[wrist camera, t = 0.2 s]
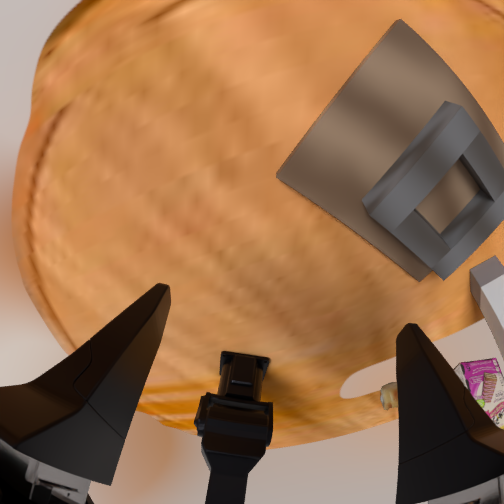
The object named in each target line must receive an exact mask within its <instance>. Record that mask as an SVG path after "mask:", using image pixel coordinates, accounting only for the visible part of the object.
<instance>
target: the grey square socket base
mask: <svg viewBox="0 0 504 504" xmlns="http://www.w3.org/2000/svg"><path fill="white" fill-rule="evenodd" d="M276 178H278V179H279V180H281V181H283V182H284V183H286V184H287V185H289V186H290V187H292V188H293V189H295V190H296V191H298V192H299V193H301V194H302V195H304V196H305V197H307V198H308V199H310V200H311V201H313V202H314V203H316V204H317V205H319V206H320V207H321V208H323V209H324V210H326V211H327V212H329V213H330V214H331V215H333V216H334V217H336V218H337V219H338V220H340V221H341V222H343V223H344V224H345V225H347V226H348V227H350V228H351V229H352V230H354V231H355V232H356V233H358V234H359V235H360V236H362V237H363V238H364V239H366V240H367V241H368V242H370V243H371V244H372V245H374V246H375V247H376V248H378V249H379V250H380V251H381V252H383V253H384V254H385V255H387V256H388V257H389V258H390V259H392V260H393V261H394V262H396V263H397V264H398V265H399V266H401V267H402V268H403V269H404V270H405V271H407V272H408V273H409V274H410V275H412V276H413V277H414V278H415V279H416V280H418V281H419V282H420V281H421V280H422V279H424V278H425V277H426V276H427V275H428V274H429V273H430V272H431V271H432V270H433V271H434V272H435V273H436V274H437V275H438V276H439V277H440V278H442V279H443V280H445V279H446V278H447V277H448V276H450V275H451V274H452V273H453V272H454V271H455V270H456V269H457V268H458V267H459V266H460V265H461V264H462V263H463V262H464V261H465V260H466V259H467V258H468V257H469V256H470V255H471V254H472V253H473V252H474V251H475V250H476V249H477V248H478V247H479V246H480V245H481V244H482V243H483V242H484V241H485V240H486V239H487V238H488V237H489V235H490V234H491V233H492V232H493V231H494V230H495V229H496V228H497V227H498V225H499V224H500V223H501V222H502V221H503V220H504V143H503V141H502V139H501V138H500V136H499V134H498V133H497V131H496V129H495V128H494V126H493V125H492V123H491V122H490V120H489V118H488V117H487V115H486V114H485V113H484V111H483V110H482V108H481V107H480V105H479V104H478V102H477V101H476V100H475V98H474V97H473V96H472V94H471V93H470V92H469V90H468V89H467V88H466V87H465V85H464V84H463V83H462V81H461V80H460V79H459V78H458V77H457V75H456V74H455V73H454V72H453V71H452V70H451V68H450V67H449V66H448V65H447V64H446V63H445V62H444V60H443V59H442V58H441V57H440V56H439V55H438V54H437V53H436V52H435V51H434V50H433V49H432V48H431V47H430V46H429V45H428V44H427V43H426V42H425V41H424V40H423V39H422V38H421V37H420V36H419V35H418V34H417V33H416V32H415V31H414V30H413V29H412V28H411V27H409V26H408V25H407V24H406V23H405V22H404V21H403V20H401V19H399V20H396V21H395V22H394V23H393V24H392V26H391V27H390V28H389V29H388V30H387V32H386V33H385V34H384V35H383V36H382V38H381V39H380V40H379V41H378V43H377V44H376V45H375V46H374V47H373V49H372V50H371V51H370V52H369V54H368V55H367V56H366V57H365V59H364V60H363V61H362V62H361V63H360V65H359V66H358V67H357V68H356V70H355V71H354V72H353V73H352V75H351V76H350V77H349V79H348V80H347V81H346V82H345V84H344V85H343V86H342V87H341V89H340V90H339V91H338V92H337V94H336V95H335V96H334V98H333V99H332V100H331V101H330V103H329V104H328V105H327V107H326V108H325V109H324V110H323V112H322V113H321V114H320V116H319V117H318V118H317V120H316V121H315V122H314V123H313V125H312V126H311V127H310V129H309V130H308V131H307V133H306V134H305V135H304V137H303V138H302V139H301V141H300V142H299V143H298V145H297V146H296V147H295V149H294V150H293V151H292V153H291V154H290V155H289V157H288V158H287V159H286V161H285V162H284V163H283V165H282V166H281V167H280V169H279V170H278V171H277V173H276Z"/></svg>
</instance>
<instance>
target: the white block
mask: <svg viewBox="0 0 504 504" xmlns="http://www.w3.org/2000/svg"><path fill="white" fill-rule="evenodd" d="M470 285H471V293H472V295H473V297H474V298H475V300H476V302H477V304H478V306H479V308H480V310H481V312H482V314H483V316H484V318H485V320H486V322H487V324H488V326H489V328H490V330H491V332H492V334H493V336H494V339H495V340H496V343H497V345H498V348H499V350H500V352H501V355H502V357H503V360H504V266H503V265H502V264H501V262H500V261H499V260H498V258H497V257H496V256H493V257H492V258H490V259H488V260H486V261H484V262H483V263H481V264H479V265H477V266H475V267H473V268H472V269H470Z"/></svg>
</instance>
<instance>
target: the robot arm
mask: <svg viewBox="0 0 504 504" xmlns="http://www.w3.org/2000/svg"><path fill="white" fill-rule="evenodd" d="M170 306H171V294H170V286H169V285H167V284H162V283H158V284H156V285H155V286H154V287H152V288H151V289H150V290H149V291H147V292H146V293H145V294H144V295H142V296H141V297H140V298H139V299H137V300H136V301H135V302H134V303H132V304H131V305H130V306H129V307H128V308H126V309H125V310H124V311H123V312H121V313H120V314H119V315H118V316H117V317H115V318H114V319H113V320H112V321H111V322H109V323H108V324H107V325H106V326H105V327H103V328H102V329H101V330H100V331H99V332H97V333H96V334H95V335H94V336H93V337H91V338H90V340H88V341H87V342H85V343H84V344H83V345H82V346H81V347H79V348H78V349H77V350H76V351H75V352H73V353H72V354H71V355H69V356H68V357H67V358H65V359H64V360H62V361H61V362H60V363H58V364H57V365H55V366H54V367H52V368H51V369H49V370H48V371H47V372H45V373H44V374H42V375H41V376H40V377H38V378H36V379H35V380H33V381H31V382H28V383H26V384H22V385H13V386H5V387H0V504H94V503H93V501H92V499H91V498H90V496H89V494H88V490H89V486H90V483H91V481H95V482H98V483H102V484H106V485H109V486H111V484H112V480H113V477H114V474H115V470H116V467H117V464H118V461H119V458H120V455H121V451H122V448H123V445H124V442H125V440H124V439H126V436H127V433H128V430H129V427H130V424H131V421H132V418H133V416H134V413H135V410H136V407H137V404H138V402H139V399H140V396H141V393H142V391H143V388H144V385H145V382H146V380H147V377H148V374H149V372H150V369H151V366H152V364H153V361H154V359H155V356H156V354H157V351H158V348H159V346H160V343H161V339H162V336H163V332H164V328H165V324H166V321H167V317H168V313H169V310H170ZM268 364H269V359H268V358H265V357H258V356H251V355H244V354H238V353H232V352H226V351H223V352H221V359H220V375H221V378H220V383H219V388H218V393H217V394H211V393H210V392H206V395H205V396H201V399H200V404H199V407H198V411H197V414H196V417H195V420H194V424H195V426H196V427H197V431H198V434H197V435H198V436H200V437H202V442H201V448H202V449H201V450H202V451H201V452H202V455H203V457H204V459H205V461H206V463H207V466H208V468H209V470H210V479H209V484H208V490H207V496H206V501H205V504H244V502H245V494H246V486H247V478H248V473H249V472H250V471H251V470H252V469H253V467H254V466H255V465H256V464H257V463H258V462H259V460H260V459H261V458H262V457H263V455H264V454H265V451H266V447H268V446H269V445H270V442H271V439H272V433H273V402H260V398H261V388H262V381H263V379H264V376H265V373H266V370H267V367H268ZM396 378H397V392H398V412H399V465H398V482H397V494H396V504H416V503H421V502H425V501H428V504H504V430H503V429H501V428H499V427H498V426H497V425H496V424H495V423H494V422H493V421H492V419H491V418H490V417H489V416H488V414H487V413H486V412H485V411H484V410H483V408H482V407H481V406H480V405H479V403H478V402H477V401H476V400H475V398H474V397H473V396H472V394H471V393H470V392H469V390H468V389H467V387H466V386H464V383H463V382H462V381H461V379H460V378H459V377H458V375H457V374H456V373H455V371H454V370H453V369H452V367H451V366H450V365H449V364H448V362H447V361H446V360H445V359H444V357H443V356H442V354H441V353H440V352H439V351H438V349H437V348H436V347H435V346H434V344H433V343H432V342H431V341H430V339H429V338H428V337H427V336H426V335H425V333H424V332H423V331H422V330H421V329H420V327H419V326H418V325H417V324H413V323H408V324H406V325H405V326H404V328H403V329H402V330H401V332H400V333H399V334H398V336H397V338H396Z"/></svg>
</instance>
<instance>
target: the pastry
mask: <svg viewBox="0 0 504 504" xmlns="http://www.w3.org/2000/svg"><path fill="white" fill-rule="evenodd" d="M381 394H382V395H381V397H380V400H381V402H382V405H383V408H384V410H388V409H389V408H394V407H398V392H397V382H391V383H388V384H386V385H384V386H382V388H381Z"/></svg>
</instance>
